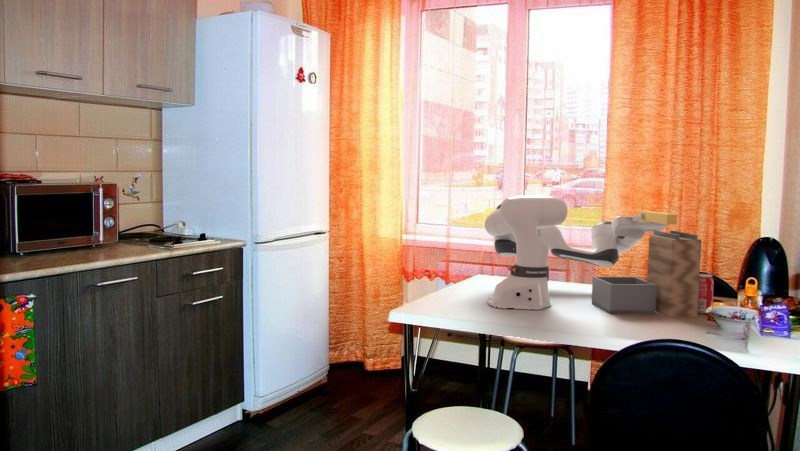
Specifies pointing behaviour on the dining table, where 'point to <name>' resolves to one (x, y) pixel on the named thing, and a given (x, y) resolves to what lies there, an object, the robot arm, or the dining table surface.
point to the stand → (675, 272)
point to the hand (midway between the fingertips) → (648, 215)
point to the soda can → (705, 292)
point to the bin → (624, 295)
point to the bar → (659, 217)
